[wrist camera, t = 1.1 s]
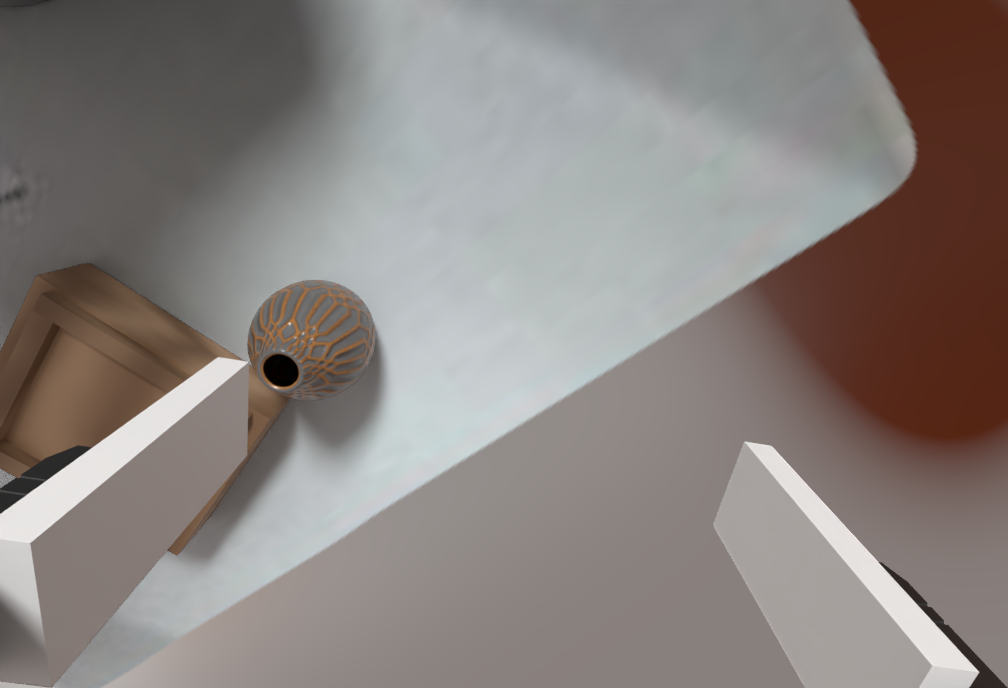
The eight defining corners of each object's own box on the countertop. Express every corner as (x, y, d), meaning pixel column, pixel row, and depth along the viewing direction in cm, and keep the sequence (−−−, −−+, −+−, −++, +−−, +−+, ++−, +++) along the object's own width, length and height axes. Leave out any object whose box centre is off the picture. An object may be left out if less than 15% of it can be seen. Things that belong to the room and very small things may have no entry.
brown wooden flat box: (15, 409, 37) (-53, 444, 33) (88, 262, 34) (24, 278, 29) (208, 518, 40) (170, 564, 36) (294, 392, 37) (264, 425, 32)
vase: (403, 347, 36) (372, 404, 27) (314, 385, 37) (258, 450, 28) (354, 253, 34) (304, 283, 25) (260, 295, 35) (183, 337, 26)
